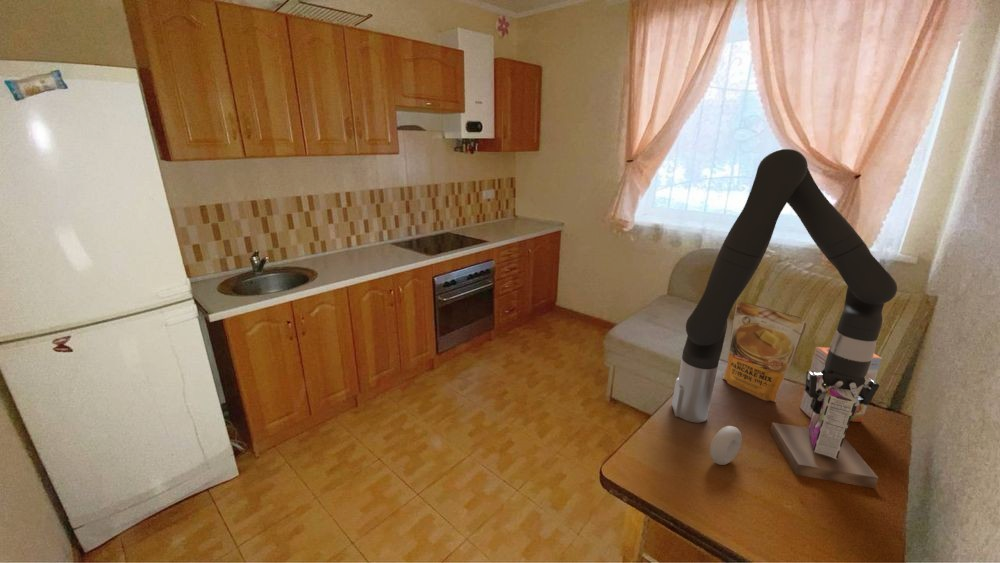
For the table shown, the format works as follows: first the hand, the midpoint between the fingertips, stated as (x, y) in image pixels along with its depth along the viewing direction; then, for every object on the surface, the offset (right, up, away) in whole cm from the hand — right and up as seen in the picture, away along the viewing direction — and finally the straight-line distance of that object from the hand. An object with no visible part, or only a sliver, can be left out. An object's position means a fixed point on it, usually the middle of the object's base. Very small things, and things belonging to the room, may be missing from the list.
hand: (830, 413), depth 96 cm
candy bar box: (0, -8, +3) cm, 9 cm away
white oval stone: (-25, -13, +2) cm, 28 cm away
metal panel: (0, -12, +4) cm, 13 cm away
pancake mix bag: (+1, -3, +33) cm, 33 cm away
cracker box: (+17, -7, +21) cm, 27 cm away
